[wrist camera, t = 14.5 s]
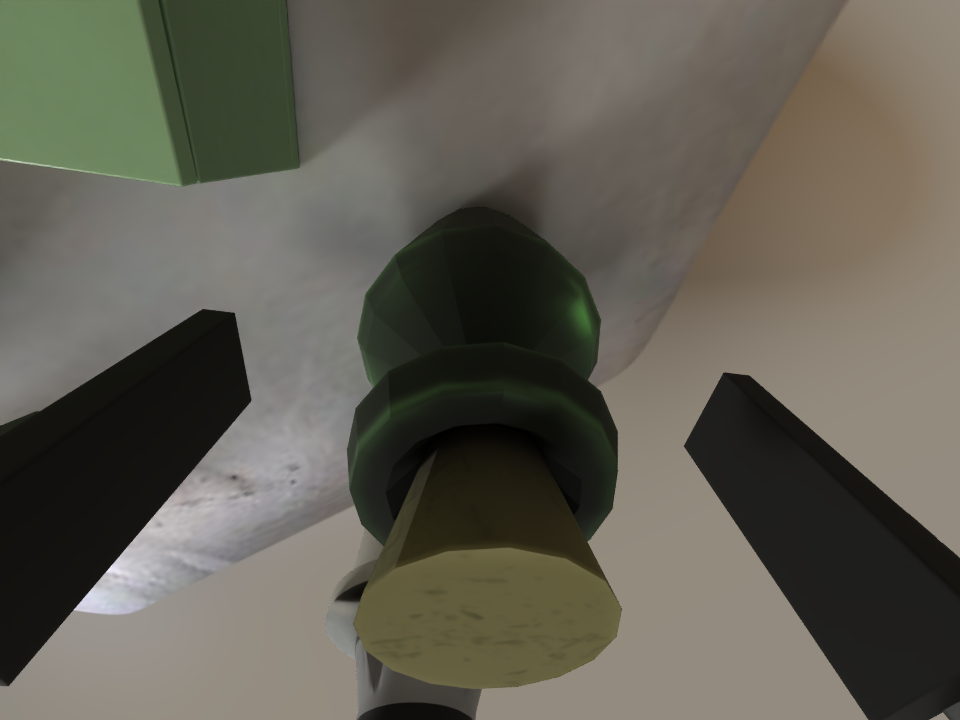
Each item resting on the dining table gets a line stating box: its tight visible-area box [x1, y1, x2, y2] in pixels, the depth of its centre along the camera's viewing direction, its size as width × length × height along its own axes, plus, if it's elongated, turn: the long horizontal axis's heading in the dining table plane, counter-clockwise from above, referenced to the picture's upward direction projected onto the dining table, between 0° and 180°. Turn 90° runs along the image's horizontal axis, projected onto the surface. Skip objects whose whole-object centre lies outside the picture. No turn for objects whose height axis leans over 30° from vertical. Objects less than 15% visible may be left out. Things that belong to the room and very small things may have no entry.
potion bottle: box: [347, 207, 622, 689], centre depth 13 cm, size 8×8×18 cm
